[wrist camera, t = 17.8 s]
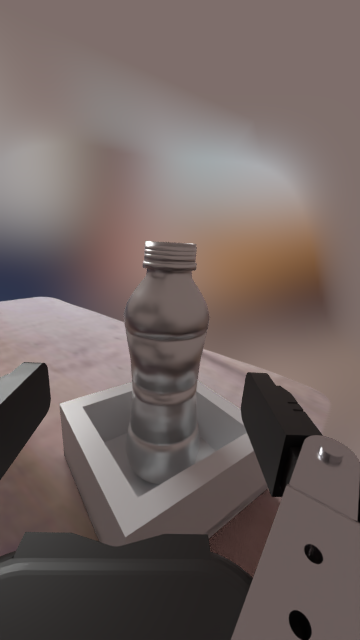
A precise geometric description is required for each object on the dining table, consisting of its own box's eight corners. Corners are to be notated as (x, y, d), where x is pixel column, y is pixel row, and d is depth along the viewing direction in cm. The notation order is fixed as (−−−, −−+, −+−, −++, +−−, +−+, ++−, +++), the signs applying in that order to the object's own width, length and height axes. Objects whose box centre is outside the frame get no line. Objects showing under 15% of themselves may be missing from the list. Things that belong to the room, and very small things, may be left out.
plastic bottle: (210, 482, 23) (237, 246, 17) (134, 508, 20) (135, 241, 15) (181, 433, 29) (194, 243, 23) (119, 449, 26) (115, 239, 20)
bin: (126, 608, 16) (125, 537, 14) (64, 455, 26) (59, 403, 24) (267, 488, 24) (278, 434, 22) (176, 408, 34) (179, 367, 33)
